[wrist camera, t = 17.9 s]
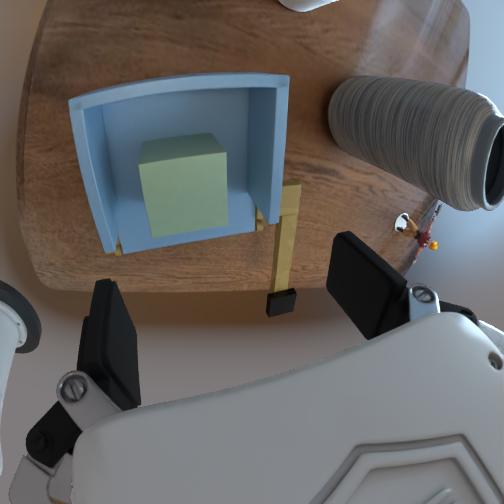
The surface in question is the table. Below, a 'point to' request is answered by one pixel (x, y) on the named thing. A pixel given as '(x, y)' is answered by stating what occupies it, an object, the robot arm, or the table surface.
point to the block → (184, 184)
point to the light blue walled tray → (188, 123)
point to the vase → (424, 136)
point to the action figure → (416, 231)
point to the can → (304, 4)
